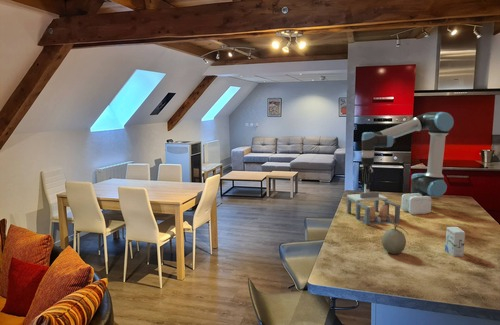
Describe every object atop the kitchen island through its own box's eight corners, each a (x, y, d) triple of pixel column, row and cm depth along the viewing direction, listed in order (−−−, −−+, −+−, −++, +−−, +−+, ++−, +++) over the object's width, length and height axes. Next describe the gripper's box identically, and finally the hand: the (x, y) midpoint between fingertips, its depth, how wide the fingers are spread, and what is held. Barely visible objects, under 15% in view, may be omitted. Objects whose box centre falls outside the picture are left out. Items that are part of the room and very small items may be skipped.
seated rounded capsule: (372, 219, 236) (373, 205, 235) (376, 221, 232) (376, 207, 230) (365, 220, 235) (366, 205, 234) (369, 222, 231) (369, 207, 230)
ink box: (444, 249, 187) (445, 226, 185) (454, 249, 187) (456, 226, 185) (453, 256, 178) (454, 232, 177) (464, 256, 178) (465, 231, 176)
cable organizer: (421, 209, 259) (422, 192, 258) (431, 213, 249) (432, 196, 247) (400, 211, 256) (401, 194, 255) (410, 215, 246) (411, 197, 245)
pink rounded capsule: (384, 218, 238) (385, 204, 236) (388, 220, 233) (389, 206, 232) (377, 219, 237) (378, 204, 236) (381, 221, 232) (382, 206, 231)
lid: (376, 194, 255) (376, 188, 254) (387, 199, 241) (388, 193, 240) (347, 196, 251) (347, 190, 250) (356, 201, 237) (356, 194, 237)
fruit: (405, 259, 176) (406, 227, 174) (379, 254, 182) (380, 223, 180) (409, 251, 185) (410, 221, 183) (384, 247, 191) (385, 218, 189)
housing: (376, 211, 256) (377, 195, 254) (399, 223, 229) (400, 205, 228) (346, 213, 252) (347, 197, 250) (366, 226, 226) (366, 207, 224)
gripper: (357, 156, 249) (356, 192, 252) (366, 158, 236) (365, 196, 239) (368, 155, 250) (367, 191, 253) (378, 158, 237) (377, 195, 240)
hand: (366, 193), depth 246 cm, fingers closed
